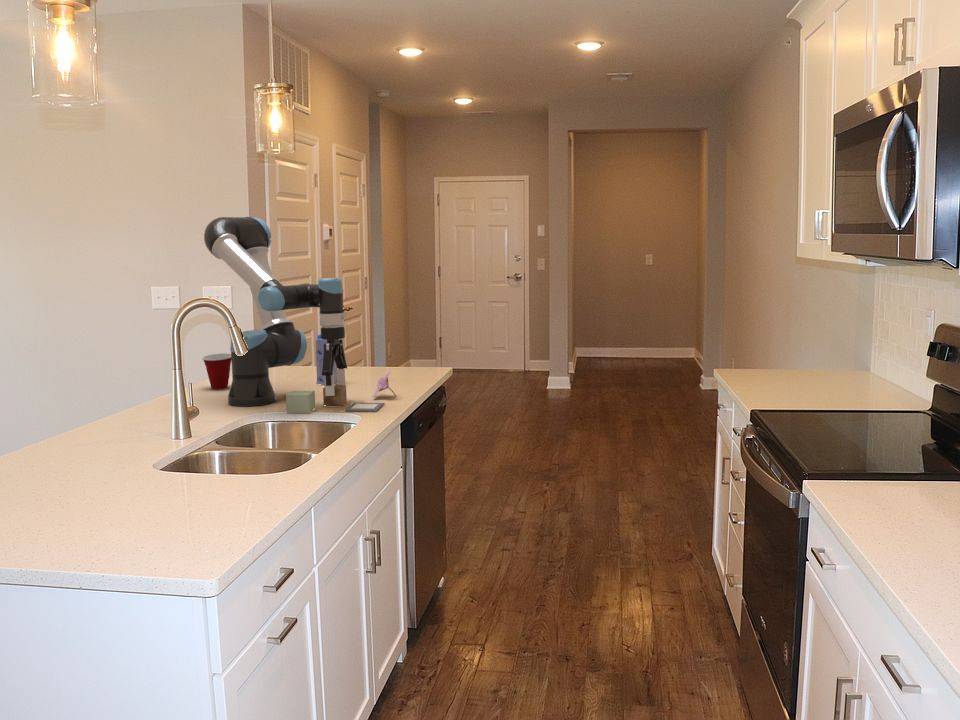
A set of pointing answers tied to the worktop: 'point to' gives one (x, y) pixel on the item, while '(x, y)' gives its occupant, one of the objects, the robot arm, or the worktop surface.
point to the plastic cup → (218, 369)
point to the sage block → (300, 402)
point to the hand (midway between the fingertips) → (335, 392)
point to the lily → (383, 384)
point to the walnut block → (336, 396)
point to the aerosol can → (319, 361)
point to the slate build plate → (364, 407)
